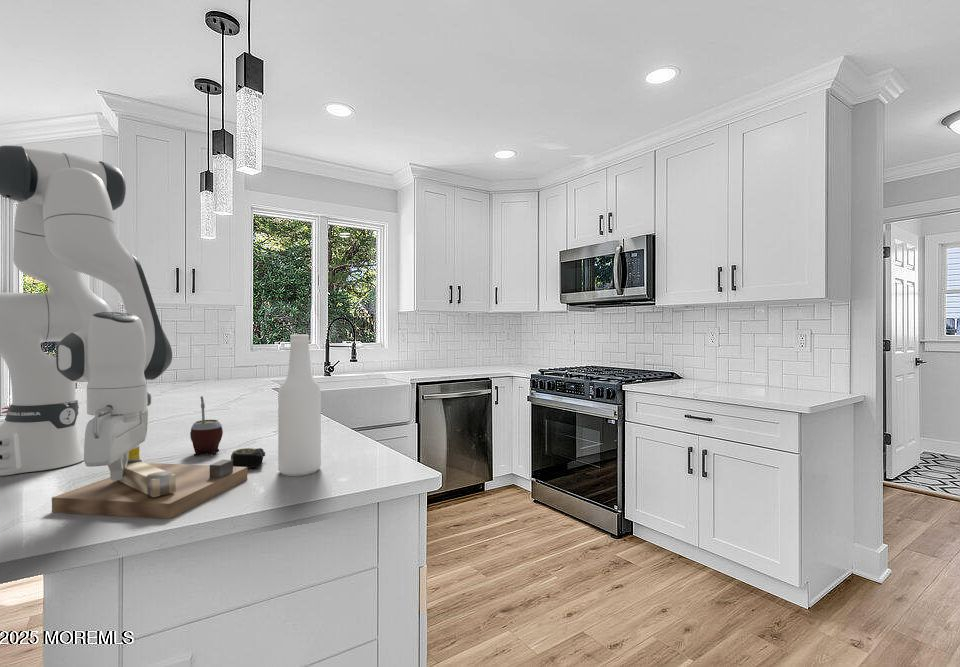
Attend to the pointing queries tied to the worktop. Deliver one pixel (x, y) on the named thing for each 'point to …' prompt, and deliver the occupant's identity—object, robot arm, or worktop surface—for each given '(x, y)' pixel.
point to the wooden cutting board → (129, 501)
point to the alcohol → (299, 414)
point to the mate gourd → (206, 435)
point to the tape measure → (247, 457)
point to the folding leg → (149, 478)
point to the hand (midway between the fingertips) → (118, 478)
